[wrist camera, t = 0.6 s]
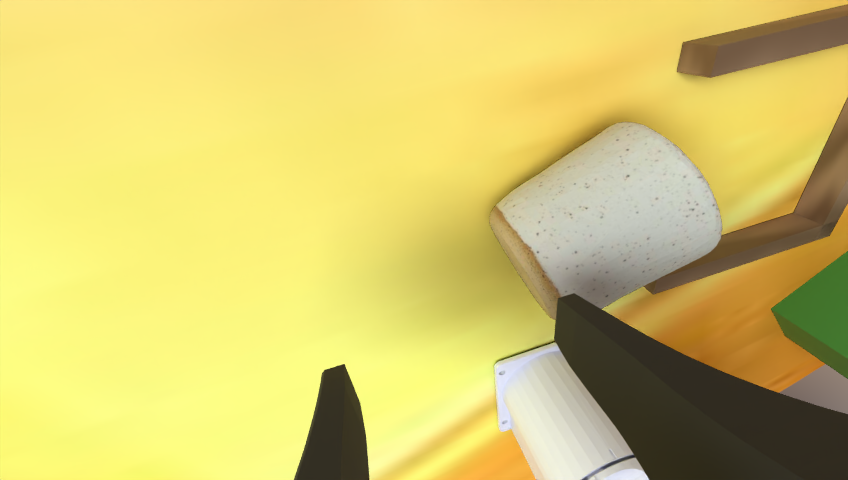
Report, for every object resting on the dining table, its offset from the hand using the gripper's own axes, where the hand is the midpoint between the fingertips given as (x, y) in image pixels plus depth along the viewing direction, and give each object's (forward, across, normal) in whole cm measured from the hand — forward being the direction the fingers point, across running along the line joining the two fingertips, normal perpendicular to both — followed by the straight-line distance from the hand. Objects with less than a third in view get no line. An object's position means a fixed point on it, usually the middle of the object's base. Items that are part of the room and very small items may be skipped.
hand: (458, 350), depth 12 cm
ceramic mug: (+10, -10, +2) cm, 14 cm away
